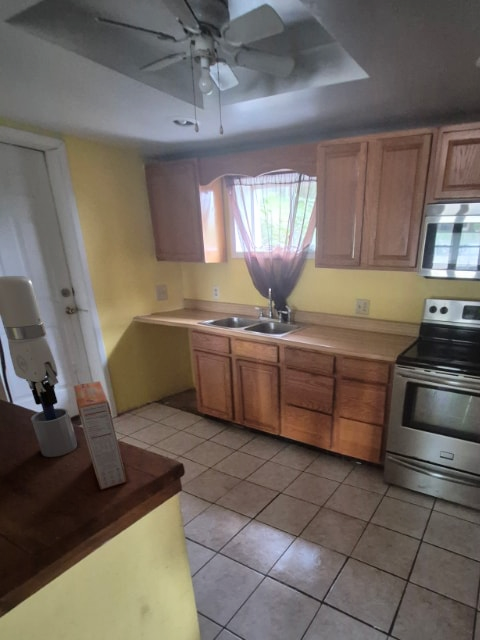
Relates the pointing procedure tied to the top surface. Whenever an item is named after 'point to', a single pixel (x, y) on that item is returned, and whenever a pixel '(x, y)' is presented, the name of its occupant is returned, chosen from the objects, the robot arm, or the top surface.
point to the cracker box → (100, 434)
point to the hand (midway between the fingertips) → (46, 403)
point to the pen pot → (54, 433)
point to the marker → (49, 410)
